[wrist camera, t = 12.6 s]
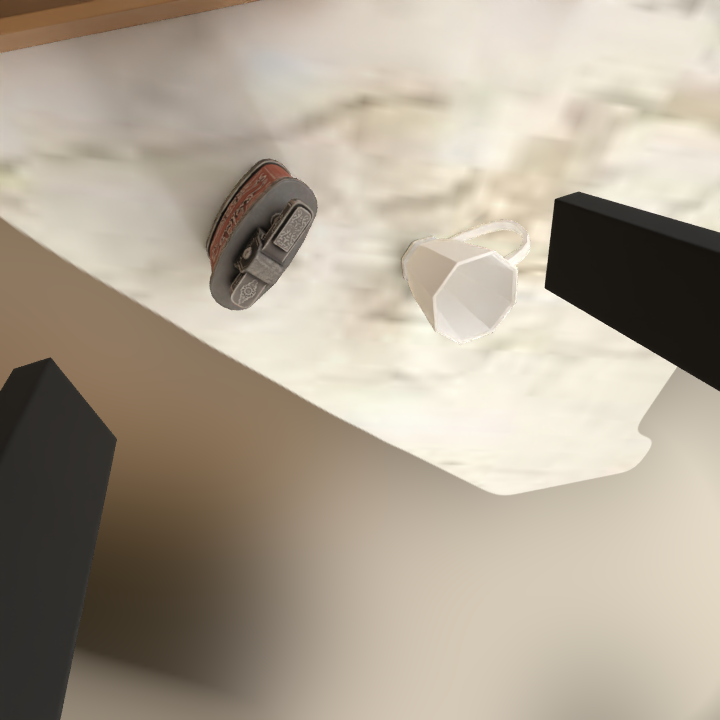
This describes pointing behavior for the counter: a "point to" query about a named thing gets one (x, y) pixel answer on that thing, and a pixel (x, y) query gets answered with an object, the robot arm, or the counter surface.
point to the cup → (464, 281)
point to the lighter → (258, 233)
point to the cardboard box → (87, 17)
